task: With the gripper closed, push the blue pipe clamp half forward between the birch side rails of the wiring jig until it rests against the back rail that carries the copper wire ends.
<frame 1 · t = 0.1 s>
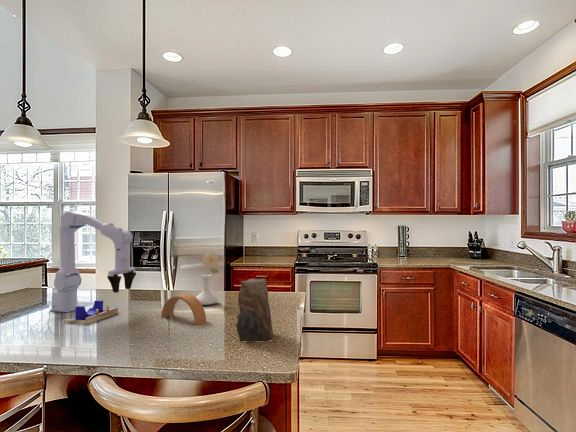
hand: (121, 290, 156), 10 cm above the kitchen island, tool pointing down, fingers open, 7 cm apart
wiring jig: (94, 317, 149), on the kitchen island
flower in vase: (207, 304, 175), on the kitchen island
blue pipe clamp half: (88, 318, 150), on the kitchen island
dark grey rock: (256, 338, 126), on the kitchen island
arch: (183, 320, 149), on the kitchen island
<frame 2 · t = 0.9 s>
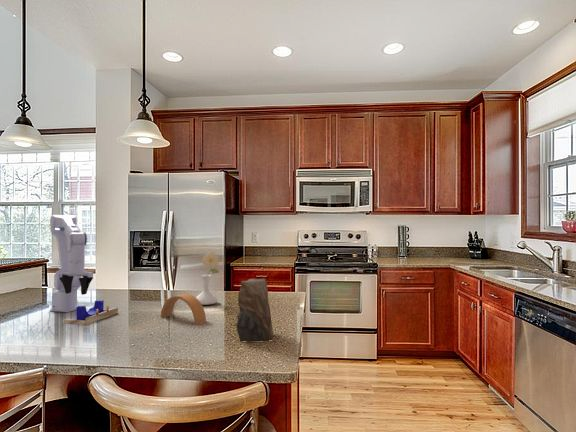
hand: (76, 293, 151), 9 cm above the kitchen island, tool pointing down, fingers open, 7 cm apart
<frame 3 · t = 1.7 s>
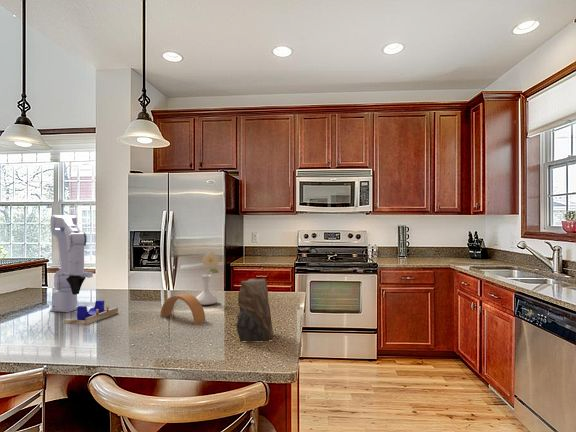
hand: (75, 294, 151), 9 cm above the kitchen island, tool pointing down, fingers closed
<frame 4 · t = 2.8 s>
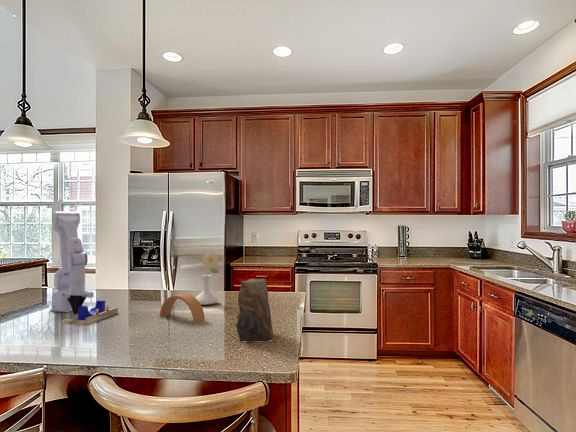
hand: (76, 313, 151), 1 cm above the kitchen island, tool pointing down, fingers closed
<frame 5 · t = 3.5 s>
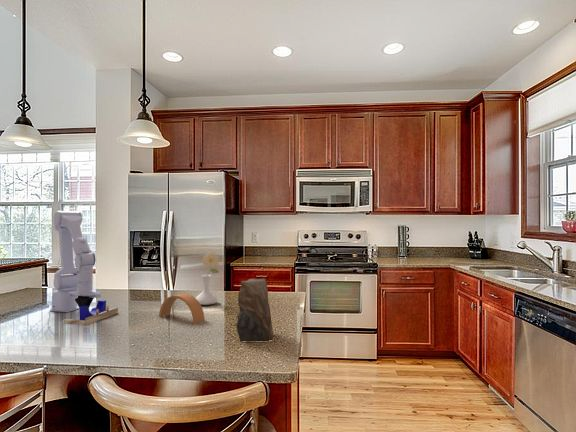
hand: (84, 314, 150), 1 cm above the kitchen island, tool pointing down, fingers closed
blue pipe clamp half: (91, 318, 150), on the kitchen island, touching gripper
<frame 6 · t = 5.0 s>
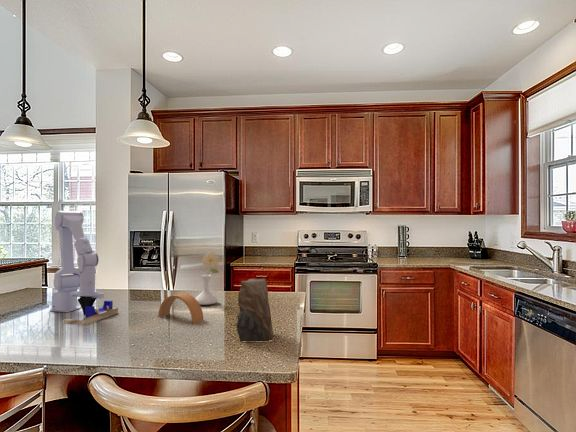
hand: (86, 314, 150), 1 cm above the kitchen island, tool pointing down, fingers closed
blue pipe clamp half: (97, 318, 150), on the kitchen island
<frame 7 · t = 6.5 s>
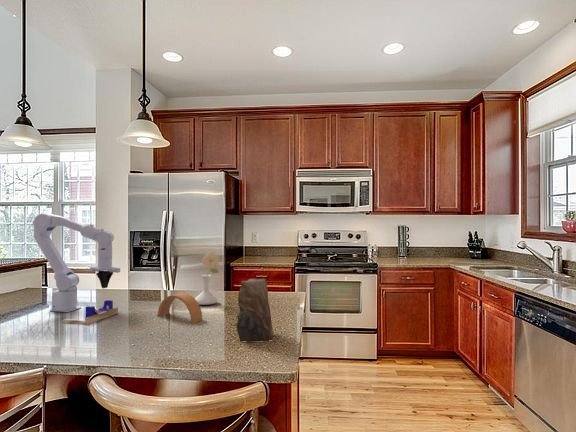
hand: (104, 287, 164), 9 cm above the kitchen island, tool pointing down, fingers closed
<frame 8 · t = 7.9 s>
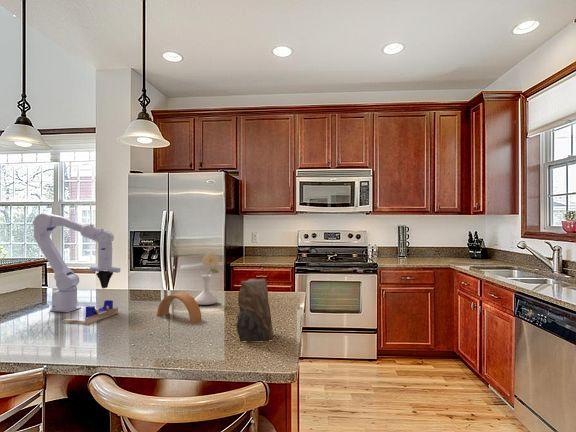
hand: (104, 287, 164), 9 cm above the kitchen island, tool pointing down, fingers closed
at the end: blue pipe clamp half 0.8 cm from the target spot on the wiring jig, point 0.0 cm above the wiring jig's base; blue pipe clamp half tilted 0°; blue pipe clamp half moved 4.3 cm from its start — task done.
